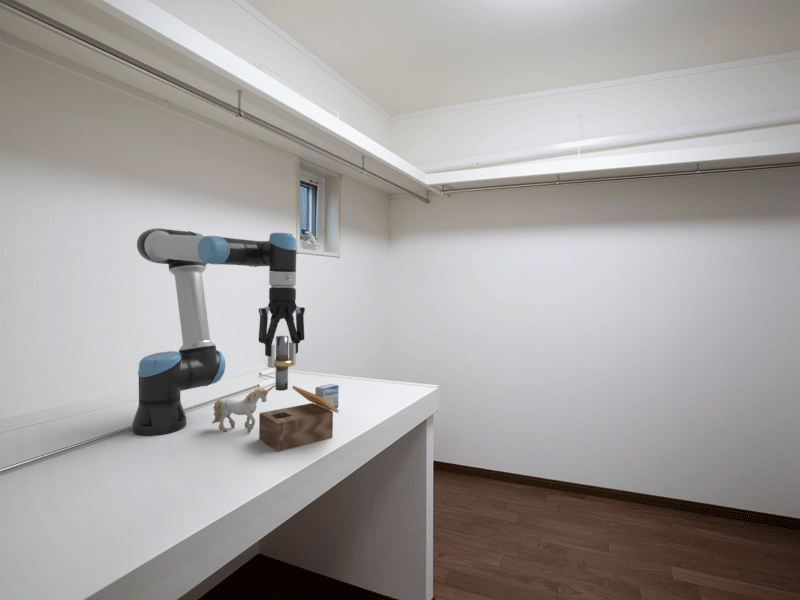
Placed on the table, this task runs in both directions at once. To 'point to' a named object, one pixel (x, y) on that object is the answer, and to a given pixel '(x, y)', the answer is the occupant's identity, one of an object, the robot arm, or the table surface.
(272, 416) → the block
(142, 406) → the robot arm
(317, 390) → the medicine box
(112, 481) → the table surface
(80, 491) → the table surface
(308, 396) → the latch flap
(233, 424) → the unicorn figurine
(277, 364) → the pin
